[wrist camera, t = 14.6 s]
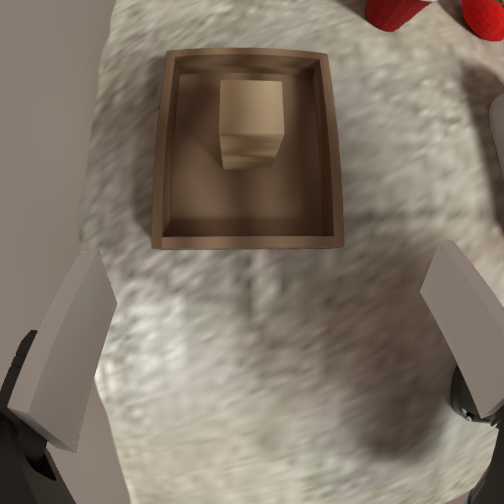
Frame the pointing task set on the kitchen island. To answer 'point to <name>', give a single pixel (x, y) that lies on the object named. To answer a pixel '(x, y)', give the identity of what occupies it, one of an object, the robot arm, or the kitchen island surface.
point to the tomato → (485, 18)
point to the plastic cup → (393, 12)
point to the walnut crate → (246, 181)
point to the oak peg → (250, 123)
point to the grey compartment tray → (498, 127)
